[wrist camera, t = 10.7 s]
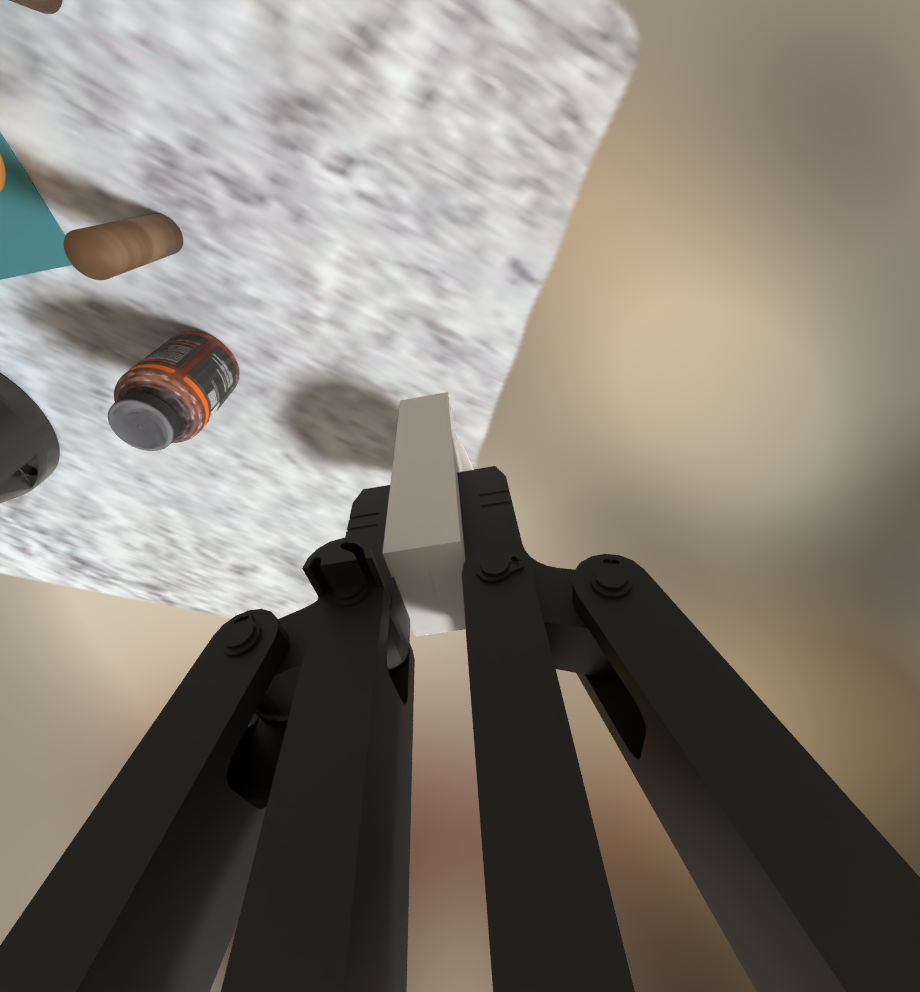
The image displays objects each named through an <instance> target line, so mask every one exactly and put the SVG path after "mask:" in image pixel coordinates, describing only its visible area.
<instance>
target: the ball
mask: <svg viewBox="0 0 920 992" xmlns="http://www.w3.org/2000/svg"><path fill="white" fill-rule="evenodd" d="M5 179H6V172H5V166H4V162H3V159H2V157H1V154H0V192H1V191H2V189H3V187H4V184H5Z"/></svg>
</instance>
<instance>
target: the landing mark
mask: <svg viewBox="0 0 920 992" xmlns="http://www.w3.org/2000/svg"><path fill="white" fill-rule="evenodd" d="M0 154H1V157H2V159H3V162H4V166H5V172H6V179H5V184H4V187H3V189H2V191H1V192H0V279H5V278H10V277H15V276H20V275H25V274H29V273H34V272H39V271H44V270H49V269H54V268H59V267H64V266H69V265H72V264H71V262H70V261H69V259H68V258H67V256H66V254H65V251H64V245H63V243H64V238H65V234H64V233H63V231H62V230H61V228H60V226H59V225H58V223H57V222H56V220H55V219H54V217H53V215H52V214H51V212H50V211H49V209H48V207H47V206H46V204H45V203H44V201H43V199H42V198H41V196H40V195H39V193H38V191H37V190H36V188H35V187H34V185H33V184H32V182H31V180H30V179H29V177H28V176H27V174H26V172H25V171H24V169H23V168H22V166H21V164H20V163H19V161H18V160H17V158H16V156H15V155H14V153H13V152H12V150H11V149H10V147H9V145H8V144H7V142H6V141H5V139H4V137H3V136H2V134H1V133H0Z"/></svg>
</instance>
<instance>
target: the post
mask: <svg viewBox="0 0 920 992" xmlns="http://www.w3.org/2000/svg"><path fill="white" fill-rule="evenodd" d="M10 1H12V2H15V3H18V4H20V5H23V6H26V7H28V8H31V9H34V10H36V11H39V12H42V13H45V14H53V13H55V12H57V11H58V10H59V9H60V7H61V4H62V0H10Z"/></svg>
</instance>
